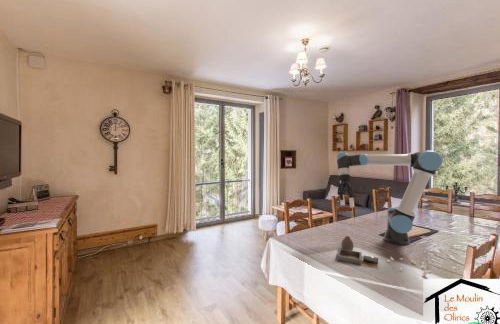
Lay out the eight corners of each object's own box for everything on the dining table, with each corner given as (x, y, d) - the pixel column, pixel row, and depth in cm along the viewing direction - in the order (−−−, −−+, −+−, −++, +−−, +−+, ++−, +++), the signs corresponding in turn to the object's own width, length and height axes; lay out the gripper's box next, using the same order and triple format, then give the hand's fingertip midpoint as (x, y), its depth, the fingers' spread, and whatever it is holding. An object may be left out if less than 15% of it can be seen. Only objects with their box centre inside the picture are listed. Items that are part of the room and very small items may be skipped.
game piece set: (440, 277, 119) (441, 269, 119) (402, 278, 117) (402, 270, 117) (411, 260, 138) (411, 253, 138) (378, 260, 137) (378, 254, 137)
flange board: (377, 260, 136) (377, 258, 136) (378, 271, 124) (378, 269, 124) (339, 253, 145) (339, 252, 145) (337, 263, 132) (337, 261, 132)
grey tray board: (377, 259, 136) (377, 254, 135) (378, 268, 125) (378, 262, 125) (339, 252, 144) (339, 247, 144) (337, 260, 133) (337, 255, 133)
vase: (339, 248, 153) (339, 235, 152) (349, 248, 153) (350, 234, 153) (344, 253, 146) (344, 238, 146) (355, 253, 146) (355, 238, 146)
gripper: (347, 179, 177) (350, 208, 171) (330, 172, 161) (333, 204, 154) (357, 177, 172) (361, 207, 166) (340, 170, 156) (344, 203, 149)
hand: (347, 206), depth 160 cm, fingers open, 13 cm apart
